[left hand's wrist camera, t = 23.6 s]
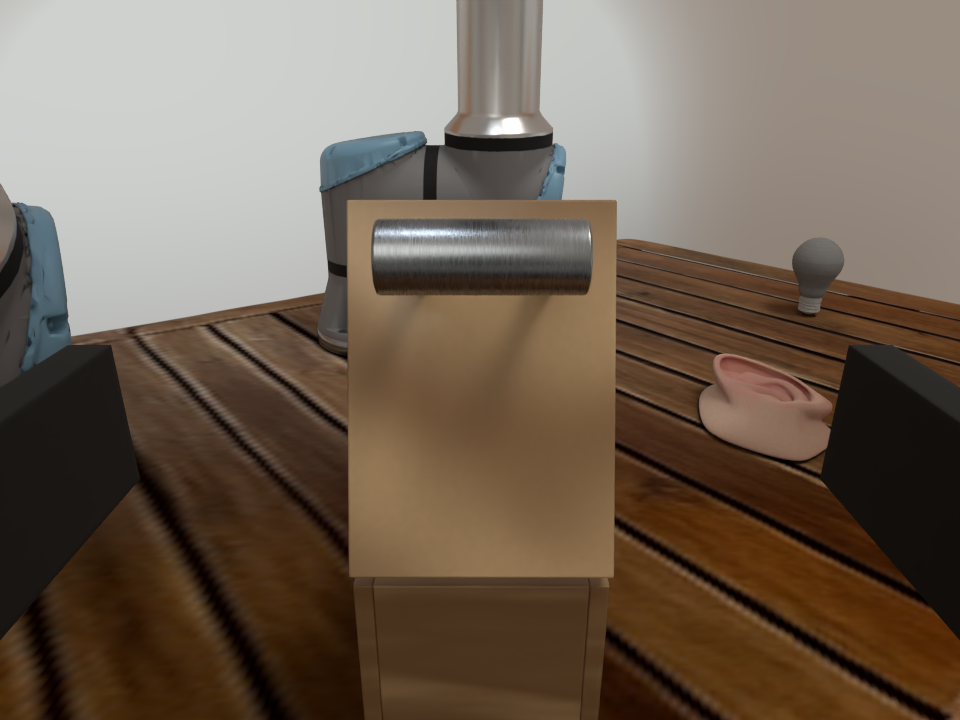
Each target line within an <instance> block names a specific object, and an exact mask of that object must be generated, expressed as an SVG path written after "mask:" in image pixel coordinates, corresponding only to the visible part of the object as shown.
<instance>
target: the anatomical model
mask: <svg viewBox="0 0 960 720" xmlns="http://www.w3.org/2000/svg"><path fill="white" fill-rule="evenodd" d="M713 372H714V376H715V379H716V381H717V383H715V384H713V385H711V386H709V387H707V388H706V389H705V390H704V391H703V392H702V393H701V395H700V399H699V411H700V416H701V420H702V422H703V424H704V426H705V427H706V429H707V430H708V431H709V432H711V433H712V434H713V435H715V436H717V437H718V438H720V439H722V440H724V441H727V442H729V443H731V444H734V445H736V446H739V447H742V448H745V449H748V450H751V451H754V452H757V453H761V454H764V455H768V456H772V457H776V458H780V459H785V460H791V461H803V460H807V459H810V458H812V457H814V456H816V455H818V454H819V453H821V452H822V451H824V450H825V449H826V448H827V444H828V440H829V435H830V431H831V430H830V429H829V428H828V427H827V426H826V425H825V424H824V423H823V421H822V420H823V418H825V417H826V416H828V415H829V414H830V413H831V411H832V404H831V403H830V402H829V401H828V400H827V399H825V398H824V397H823V396H821V395H820V394H819V393H817V392H816V391H814V390H813V389H812V388H810V387H809V386H807V385H806V384H804V383H803V382H801V381H800V380H798V379H797V378H795V377H793V376H791V375H789V374H787V373H785V372H783V371H781V370H778V369H776V368H773V367H771V366H768V365H766V364H763V363H760V362H758V361H755V360H752V359H748V358H745V357H741V356H737V355H732V354H720V355H718V356H716V357H715V359H714V361H713Z"/></svg>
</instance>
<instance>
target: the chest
mask: <svg viewBox="0 0 960 720" xmlns="http://www.w3.org/2000/svg"><path fill="white" fill-rule="evenodd" d="M609 588H610V586H609V582H608V578H355V581H354V585H353V591H354V602H355V614H356V626H357V637H358V649H359V660H360V672H361V683H362V695H363V707H364V718H365V720H598V712H599V701H600V689H601V678H602V667H603V656H604V644H605V633H606V622H607V611H608V599H609Z"/></svg>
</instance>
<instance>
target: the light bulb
mask: <svg viewBox="0 0 960 720" xmlns="http://www.w3.org/2000/svg"><path fill="white" fill-rule="evenodd" d="M792 265H793V270H794V272H795V275H796V277H797V280H798V283H799V293H800V300H799V302H800V303H799V306H798V310H800V311H802V312H803V313H805V314H814V313H817V312H819V311H820V309H819V308H820V307H819V306H820V305H821V304H820V303H821V301H822V297H823V296H824V295H825V293H826V291H827V288H828V286H829V285H830V284H831V282H832V281H833V280H834V279H835V278H836V277H837V276H838V274H839V273H840V272H841V270H842V268H843V265H844V256H843V252H842V250H841V248H840V247H839V246H838V245H837V244H836V243H835V242H833V241H832V240H829V239H826V238H813V239H810V240H808V241H806V242H804V243H803V244H802V245H800V246H799V247H798V249H797V250H796V251H795V253H794V255H793V259H792Z"/></svg>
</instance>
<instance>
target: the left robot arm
mask: <svg viewBox="0 0 960 720" xmlns="http://www.w3.org/2000/svg"><path fill="white" fill-rule="evenodd" d="M139 479H140V477H139V472H138V467H137V463H136V458H135V454H134V449H133V444H132V440H131V435H130V431H129V426H128V421H127V417H126V412H125V408H124V403H123V398H122V394H121V389H120V385H119V380H118V375H117V371H116V366H115V362H114V357H113V352H112V348H111V345H72V342H71V333H70V327H69V323H68V310H67V297H66V288H65V281H64V274H63V267H62V261H61V254H60V248H59V242H58V237H57V232H56V227H55V223H54V220H53V218H52V216H51V214H50V212H48V211H47V210H45V209H43V208H41V207H38V206H27V205H25V204H23V203H18V202H17V203H11V201H10V199H9V198H8V196H7V194H6V192H5V191H4V189H3V187H2V185H1V184H0V640H1V639H2V637H3V636H4V635H5V634H6V633H7V632H8V630H9V629H10V628H11V627H12V626H13V625H14V624H15V622H16V621H17V620H18V619H19V618H20V617H21V615H22V614H23V613H24V612H25V611H26V610H27V609H28V607H29V606H30V605H31V604H32V603H33V602H34V600H35V599H36V598H37V597H38V596H39V595H40V594H41V592H42V591H43V590H44V589H45V588H46V587H47V585H48V584H49V583H50V582H51V581H52V580H53V579H54V577H55V576H56V575H57V574H58V573H59V572H60V570H61V569H62V568H63V567H64V566H65V565H66V564H67V562H68V561H69V560H70V559H71V558H72V557H73V555H74V554H75V553H76V552H77V551H78V550H79V549H80V547H81V546H82V545H83V544H84V543H85V542H86V540H87V539H88V538H89V537H90V536H91V535H92V534H93V532H94V531H95V530H96V529H97V528H98V527H99V525H100V524H101V523H102V522H103V521H104V520H105V519H106V517H107V516H108V515H109V514H110V513H111V512H112V510H113V509H114V508H115V507H116V506H117V505H118V503H119V502H120V501H121V500H122V499H123V498H124V497H125V495H126V494H127V493H128V492H129V491H130V490H131V488H132V487H133V486H134V485H135V484H136V483H137V482H138V480H139ZM820 479H821V480H822V482H823V483H824V484H825V485H826V486H827V487H828V488H829V490H830V491H831V492H832V493H833V494H834V495H835V497H836V498H837V499H838V500H839V501H840V502H841V503H842V505H843V506H844V507H845V508H846V509H847V510H848V512H849V513H850V514H851V515H852V516H853V517H854V519H855V520H856V521H857V522H858V523H859V524H860V525H861V527H862V528H863V529H864V530H865V531H866V532H867V534H868V535H869V536H870V537H871V538H872V539H873V540H874V542H875V543H876V544H877V545H878V546H879V547H880V549H881V550H882V551H883V552H884V553H885V554H886V555H887V557H888V558H889V559H890V560H891V561H892V562H893V564H894V565H895V566H896V567H897V568H898V569H899V570H900V572H901V573H902V574H903V575H904V576H905V577H906V579H907V580H908V581H909V582H910V583H911V584H912V585H913V587H914V588H915V589H916V590H917V591H918V592H919V594H920V595H921V596H922V597H923V598H924V599H925V600H926V602H927V603H928V604H929V605H930V606H931V607H932V609H933V610H934V611H935V612H936V613H937V614H938V615H939V617H940V618H941V619H942V620H943V621H944V622H945V624H946V625H947V626H948V627H949V628H950V629H951V630H952V632H953V633H954V634H955V635H956V636H957V637H958V639H959V640H960V387H958V386H957V385H955V384H953V383H952V382H950V381H949V380H947V379H945V378H944V377H942V376H941V375H939V374H937V373H936V372H934V371H933V370H931V369H929V368H928V367H926V366H925V365H923V364H922V363H920V362H918V361H917V360H915V359H914V358H912V357H910V356H909V355H907V354H906V353H904V352H902V351H901V350H899V349H898V348H896V347H894V346H893V345H849V348H848V352H847V357H846V362H845V366H844V371H843V375H842V380H841V385H840V389H839V394H838V398H837V403H836V408H835V412H834V417H833V421H832V426H831V431H830V435H829V440H828V444H827V449H826V454H825V458H824V463H823V467H822V472H821V477H820Z"/></svg>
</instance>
